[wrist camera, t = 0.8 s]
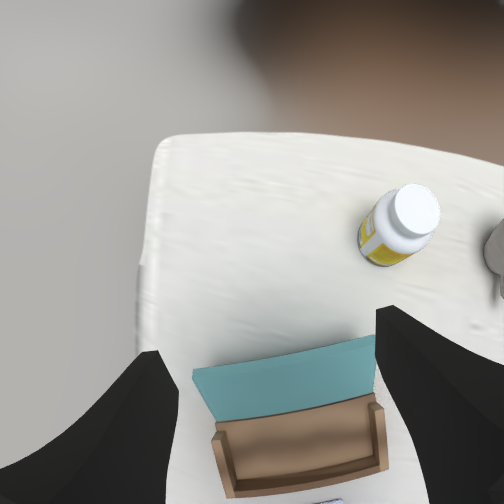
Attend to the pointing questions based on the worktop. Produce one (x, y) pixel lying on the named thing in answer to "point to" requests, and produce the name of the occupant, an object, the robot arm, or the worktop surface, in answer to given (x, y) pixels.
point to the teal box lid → (289, 380)
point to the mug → (496, 253)
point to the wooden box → (301, 448)
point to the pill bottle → (399, 225)
